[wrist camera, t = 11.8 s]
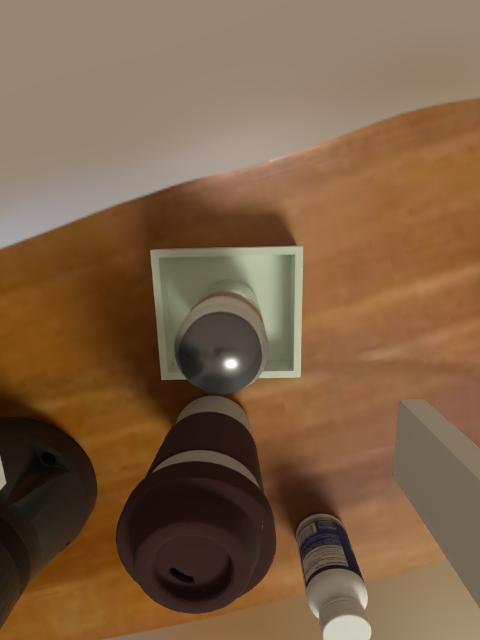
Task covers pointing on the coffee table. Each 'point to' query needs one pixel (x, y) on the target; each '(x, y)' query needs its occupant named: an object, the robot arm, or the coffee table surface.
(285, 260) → the tray
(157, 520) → the coffee cup
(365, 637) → the pill bottle
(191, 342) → the shaker
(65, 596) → the coffee table surface
